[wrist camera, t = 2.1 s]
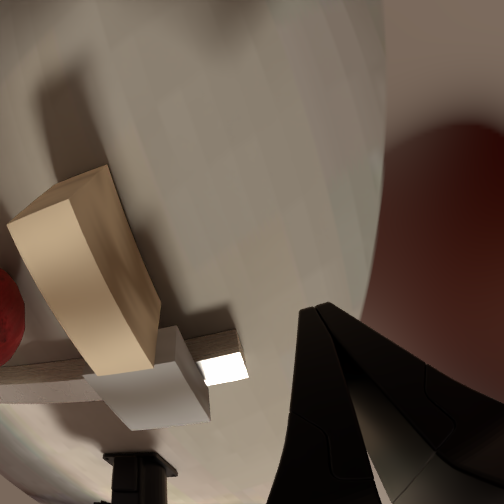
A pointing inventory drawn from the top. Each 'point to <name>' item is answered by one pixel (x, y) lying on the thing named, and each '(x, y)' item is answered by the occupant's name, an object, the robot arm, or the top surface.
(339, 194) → the top surface
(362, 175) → the top surface
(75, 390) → the rail
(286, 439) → the robot arm
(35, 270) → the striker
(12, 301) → the red round solid
